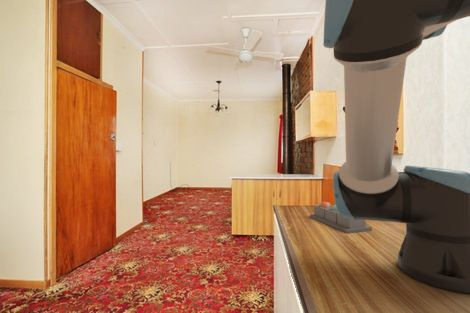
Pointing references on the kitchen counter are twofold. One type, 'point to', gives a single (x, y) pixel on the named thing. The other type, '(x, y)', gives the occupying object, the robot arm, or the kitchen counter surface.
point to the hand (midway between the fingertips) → (361, 154)
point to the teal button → (334, 208)
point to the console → (338, 220)
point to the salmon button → (325, 204)
